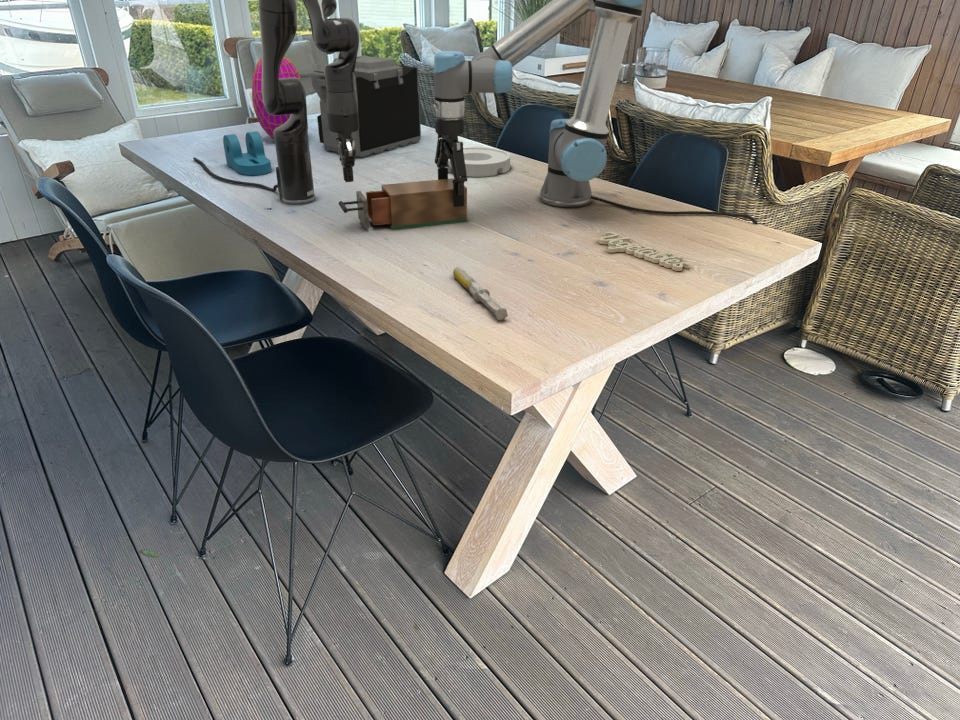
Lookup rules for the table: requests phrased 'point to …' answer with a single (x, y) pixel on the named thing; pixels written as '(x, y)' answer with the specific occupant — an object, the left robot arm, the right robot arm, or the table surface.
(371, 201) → the drawer
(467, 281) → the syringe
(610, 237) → the decorative sign
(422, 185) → the cabinet
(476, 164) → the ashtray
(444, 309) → the table surface
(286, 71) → the decorative egg
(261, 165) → the camera mount
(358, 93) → the electronic device
